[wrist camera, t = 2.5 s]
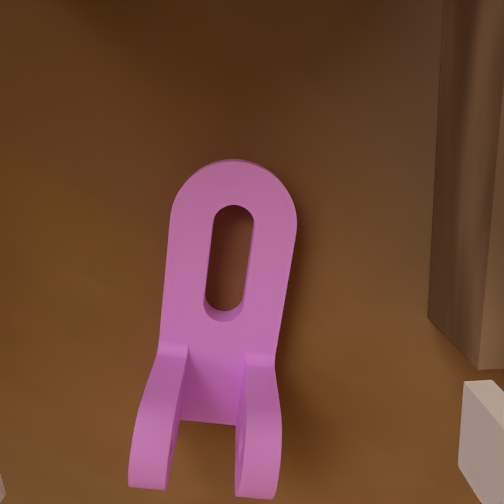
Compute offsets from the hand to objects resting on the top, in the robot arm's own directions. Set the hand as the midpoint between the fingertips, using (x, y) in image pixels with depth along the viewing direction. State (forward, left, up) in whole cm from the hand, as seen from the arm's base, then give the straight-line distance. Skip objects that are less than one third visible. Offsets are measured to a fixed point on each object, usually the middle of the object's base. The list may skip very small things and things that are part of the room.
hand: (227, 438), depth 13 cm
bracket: (0, 0, -11) cm, 11 cm away
